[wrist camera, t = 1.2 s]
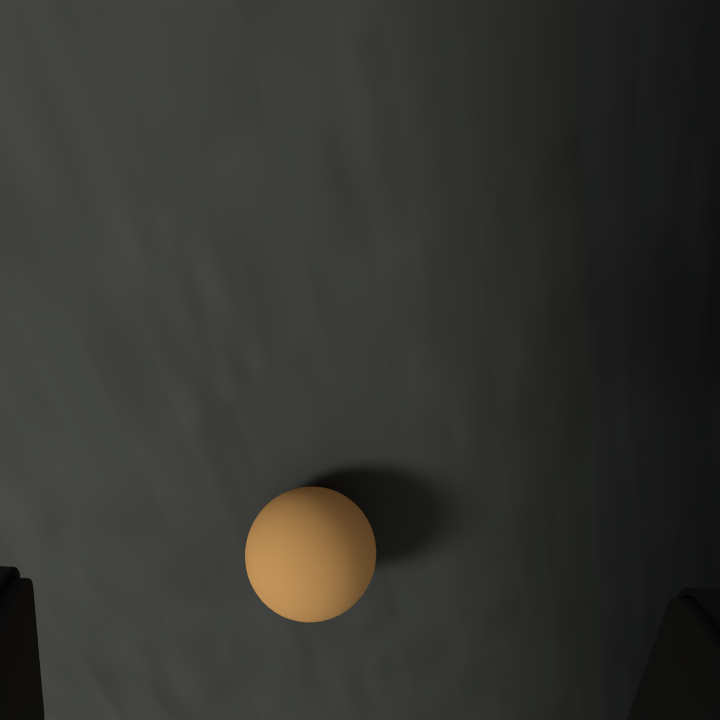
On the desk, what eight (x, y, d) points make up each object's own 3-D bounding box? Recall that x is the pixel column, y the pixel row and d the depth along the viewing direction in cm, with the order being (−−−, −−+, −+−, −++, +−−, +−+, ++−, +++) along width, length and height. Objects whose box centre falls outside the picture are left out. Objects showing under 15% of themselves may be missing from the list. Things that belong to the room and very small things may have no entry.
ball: (374, 464, 28) (392, 540, 23) (362, 564, 30) (376, 653, 25) (251, 460, 27) (243, 537, 23) (246, 562, 29) (238, 652, 25)
